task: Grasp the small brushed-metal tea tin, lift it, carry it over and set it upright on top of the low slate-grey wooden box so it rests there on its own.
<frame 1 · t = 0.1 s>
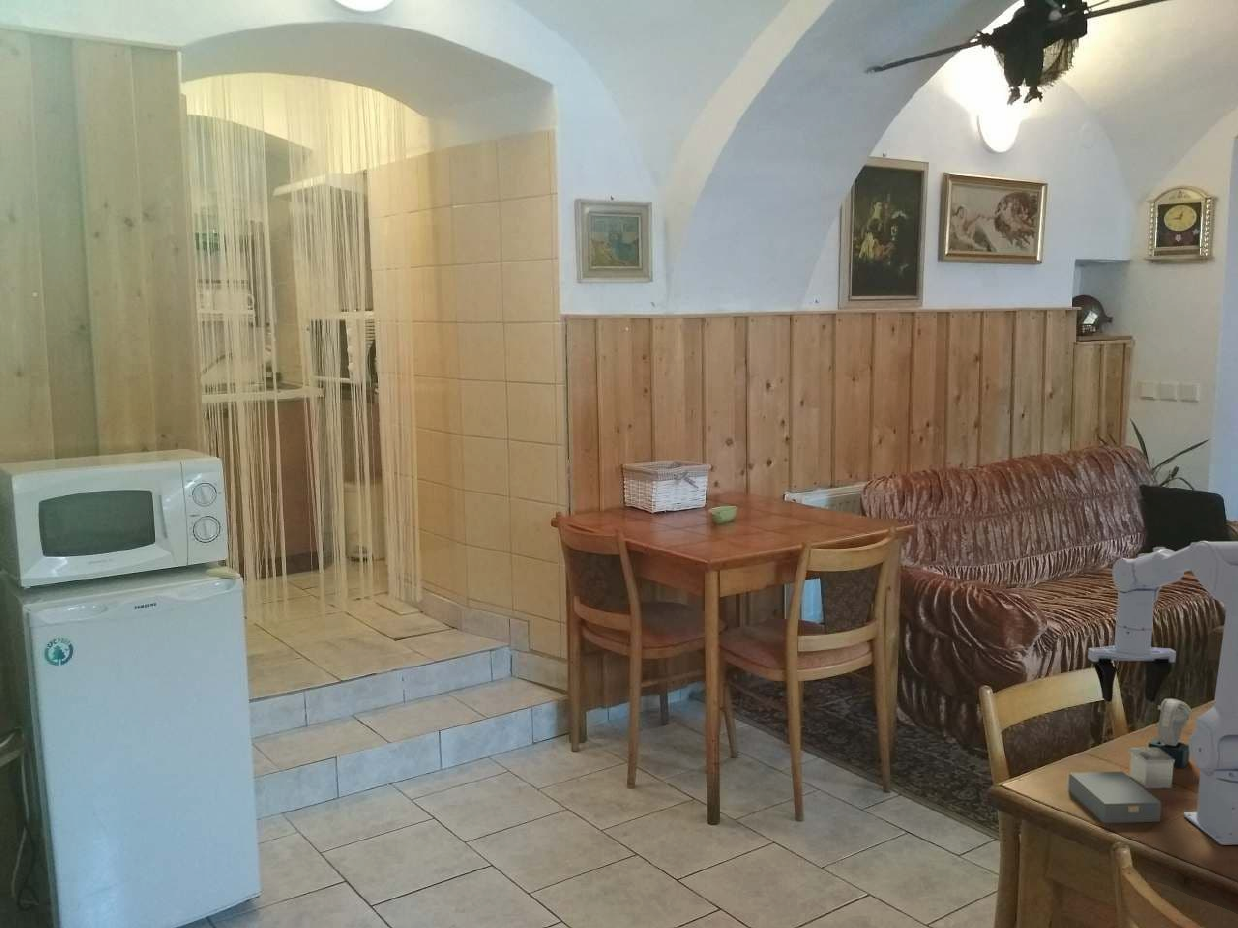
hand: (1128, 699, 184), 10 cm above the table, tool pointing down, fingers open, 7 cm apart
tea tin: (1150, 781, 174), on the table
watch: (1167, 761, 182), on the table
watch box: (1112, 807, 165), on the table
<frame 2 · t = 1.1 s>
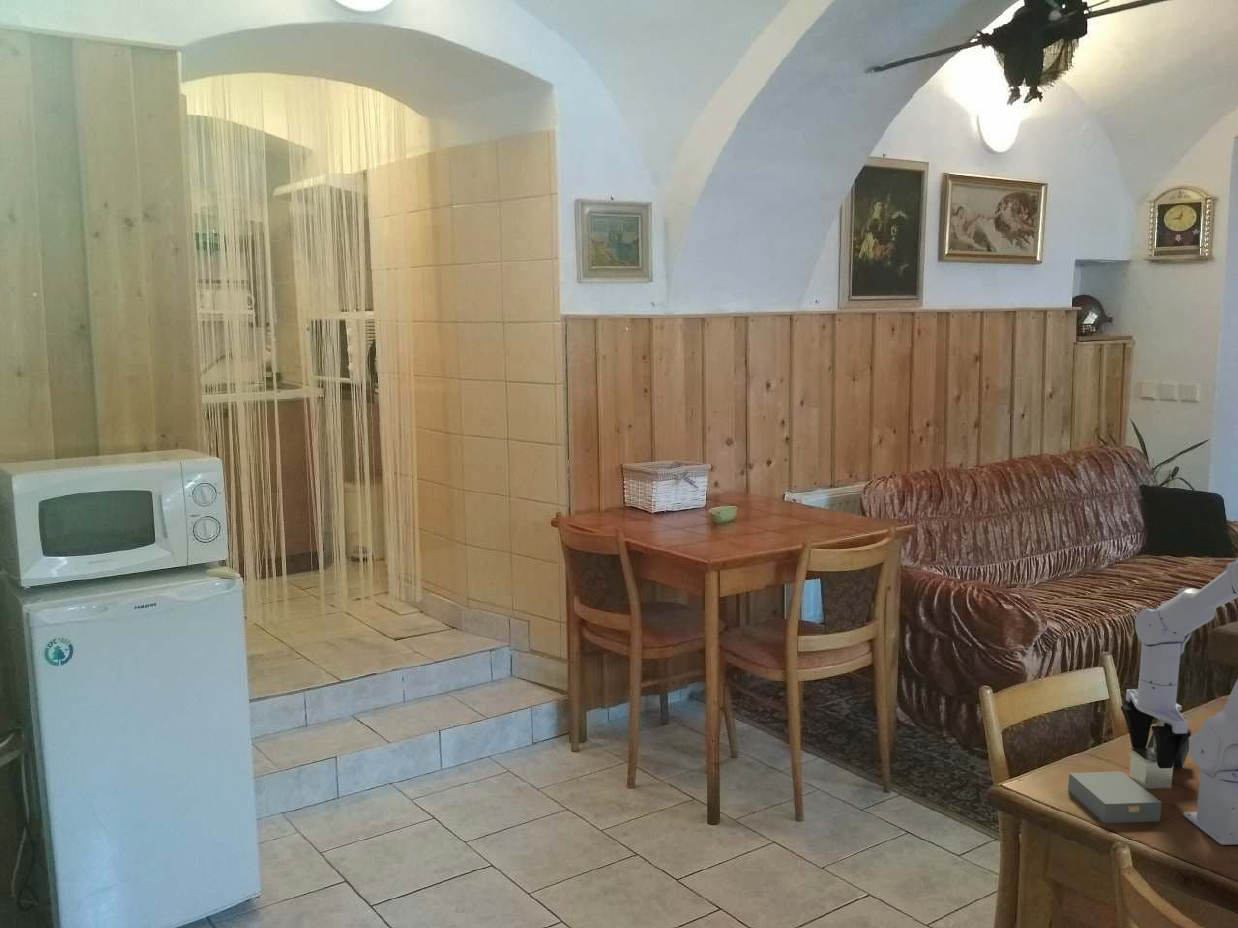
hand: (1151, 757, 174), 4 cm above the table, tool pointing down, fingers open, 7 cm apart
tea tin: (1149, 782, 174), on the table, touching watch
watch: (1168, 753, 182), point 1 cm above the table, touching gripper, tea tin
everything else where it was.
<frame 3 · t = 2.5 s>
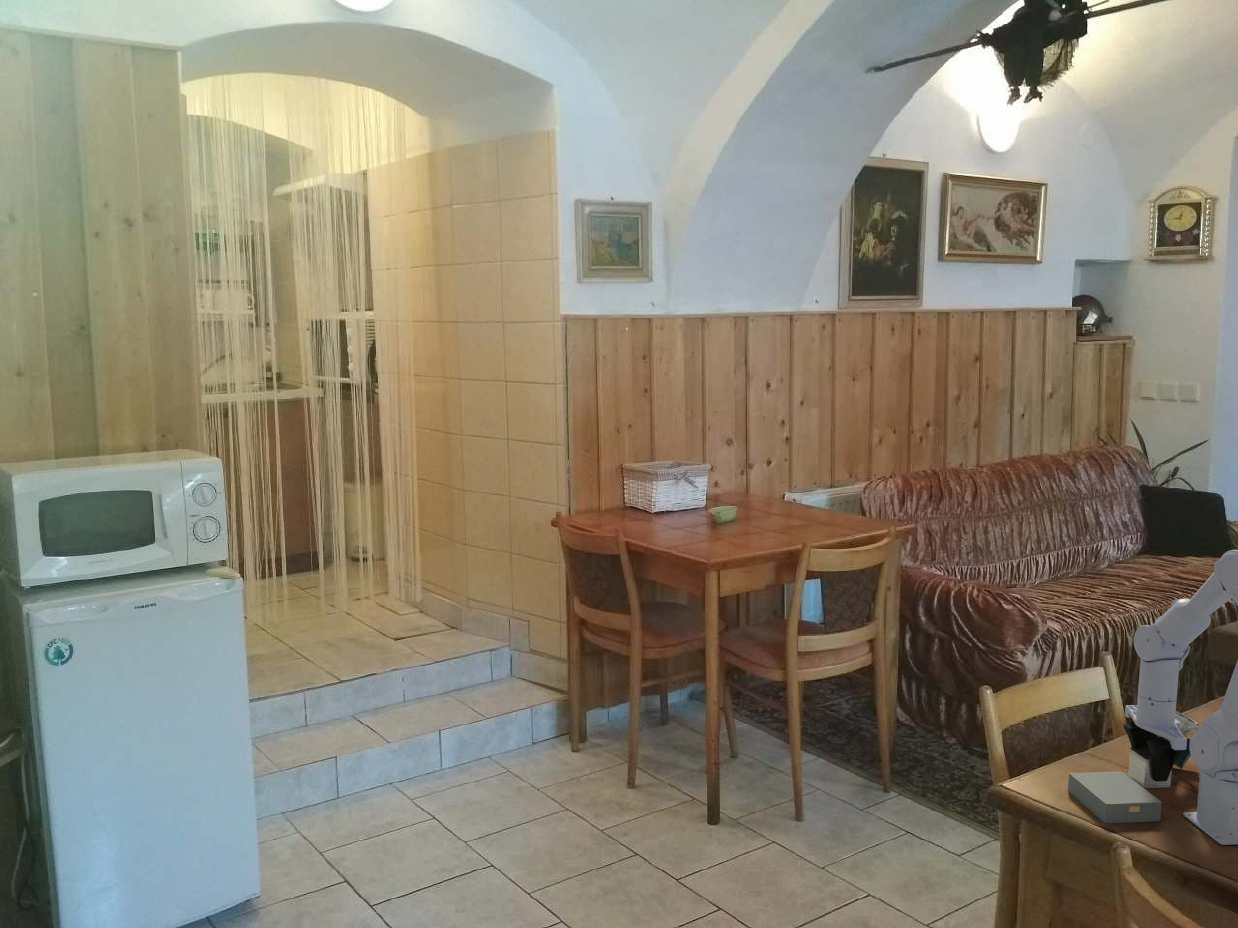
hand: (1150, 773, 174), 1 cm above the table, tool pointing down, fingers closed on tea tin, 5 cm apart
tea tin: (1148, 781, 174), on the table, touching gripper, watch
watch: (1172, 749, 181), point 2 cm above the table, touching tea tin
everything else where it was.
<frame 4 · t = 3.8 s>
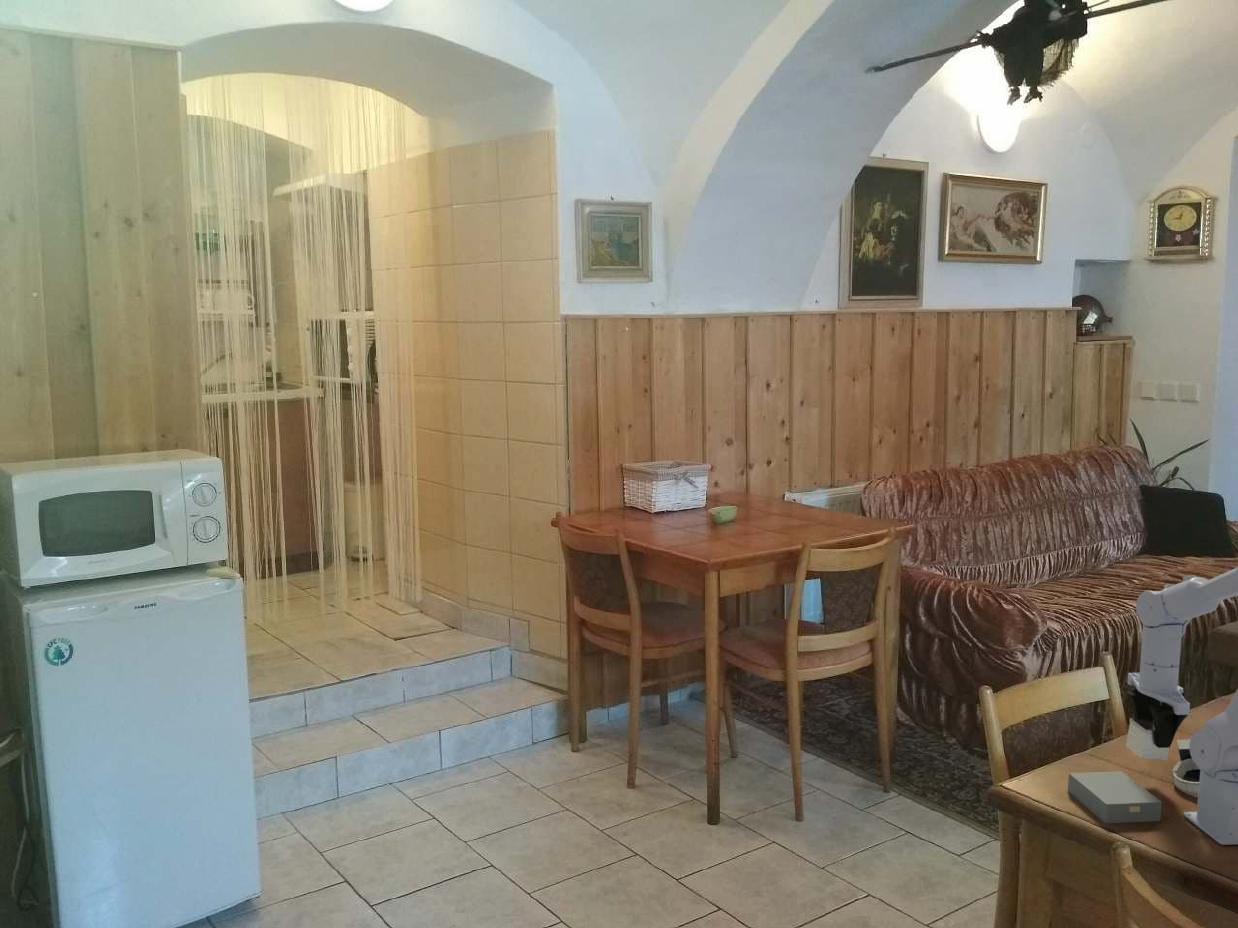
hand: (1153, 740, 173), 7 cm above the table, tool pointing down, fingers closed on tea tin, 5 cm apart
tea tin: (1146, 752, 173), point 5 cm above the table, tilted 6°, touching gripper
watch: (1193, 752, 178), point 3 cm above the table
everything else where it was.
when the fingers open (6 cm above the table, at t = 6.3 s): tea tin drops 1 cm, point 3 cm above the table.
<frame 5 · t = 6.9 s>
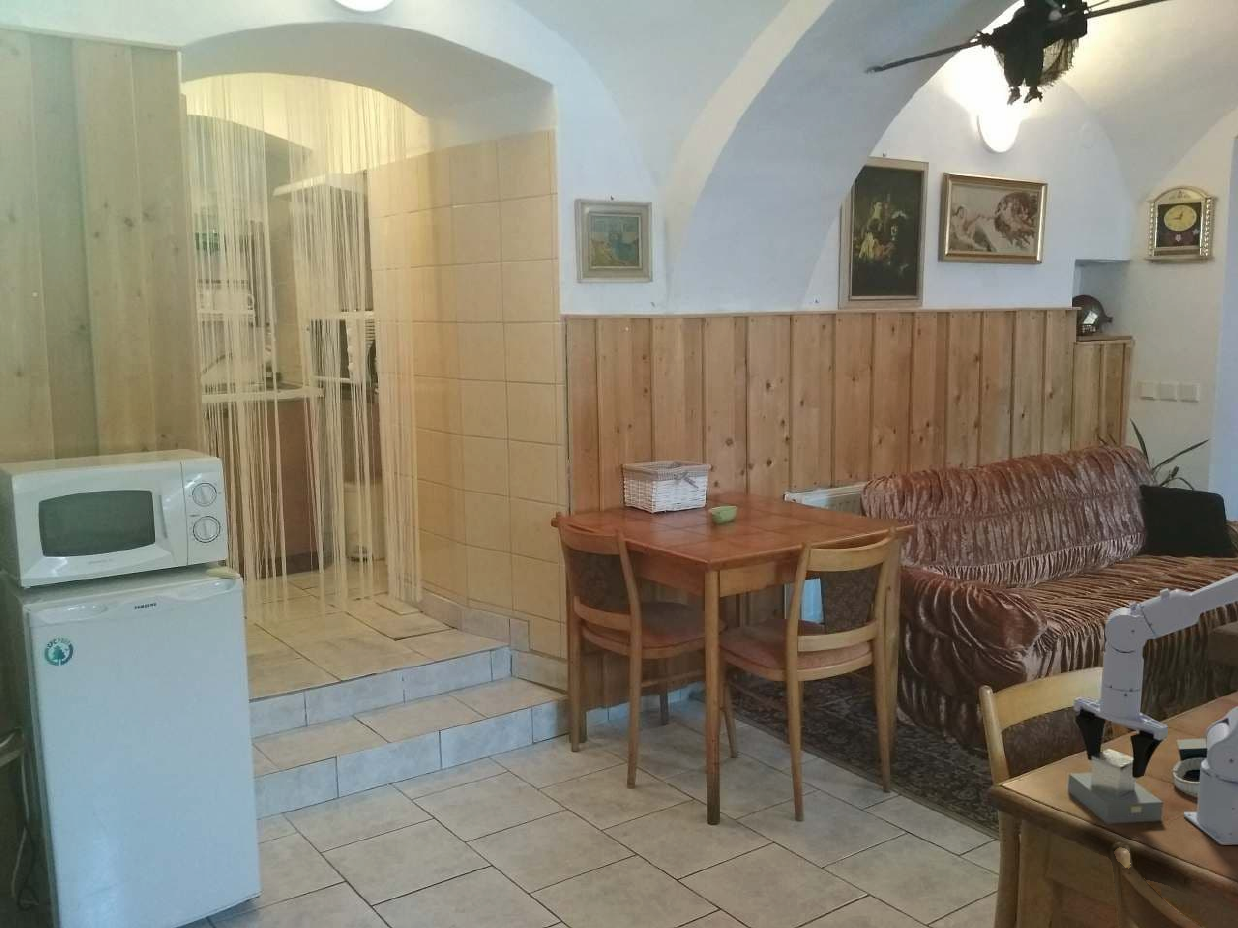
hand: (1115, 767, 164), 6 cm above the table, tool pointing down, fingers open, 7 cm apart
tea tin: (1112, 787, 165), point 3 cm above the table
everything else where it was.
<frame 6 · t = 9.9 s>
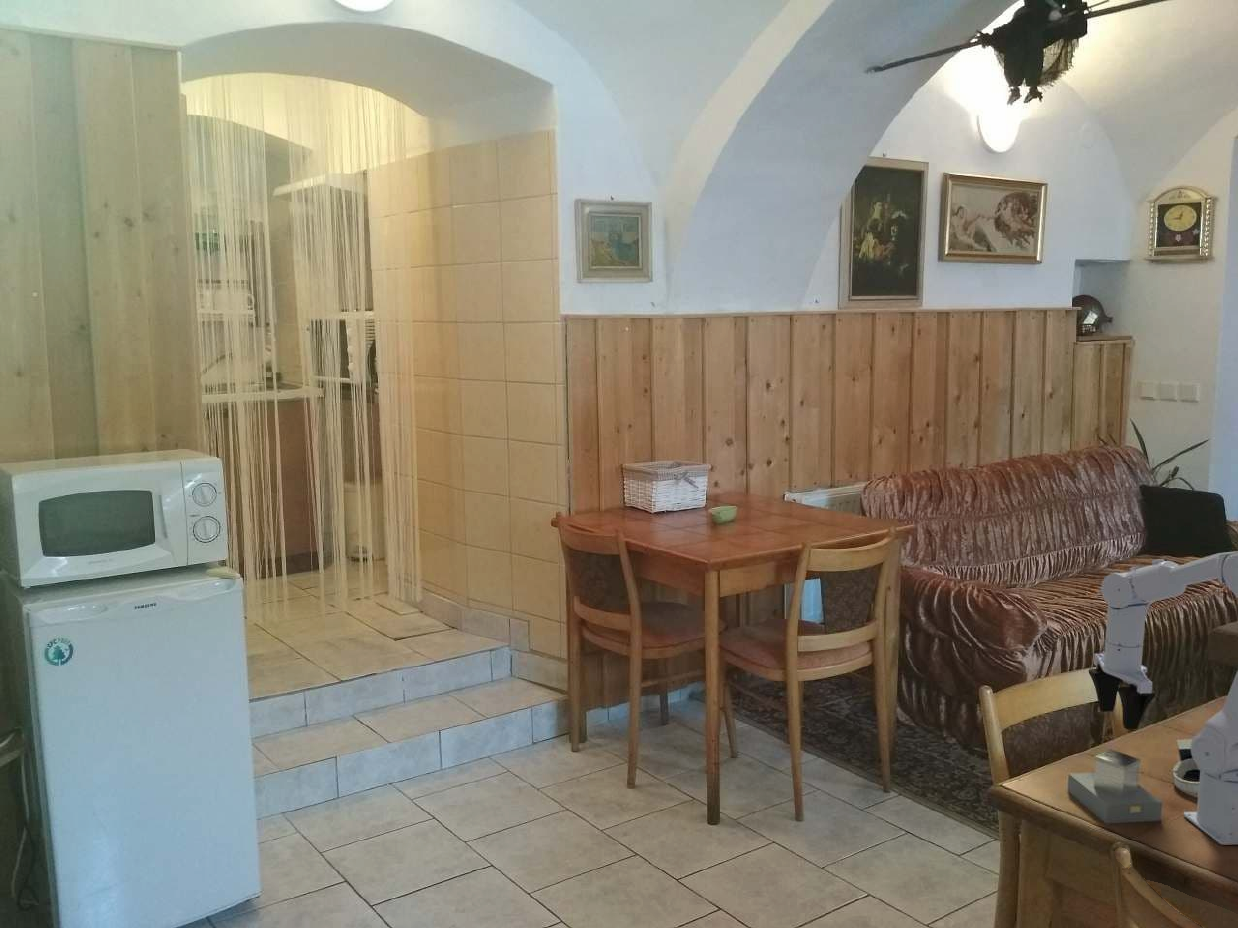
hand: (1118, 719, 176), 9 cm above the table, tool pointing down, fingers open, 7 cm apart
tea tin: (1115, 787, 165), point 3 cm above the table, touching watch box
watch box: (1112, 807, 165), on the table, touching tea tin
everything else where it was.
at the end: tea tin 0.2 cm off-centre on the watch box, point 3.5 cm above the watch box's base; tea tin tilted 0°; the gripper is holding nothing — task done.
